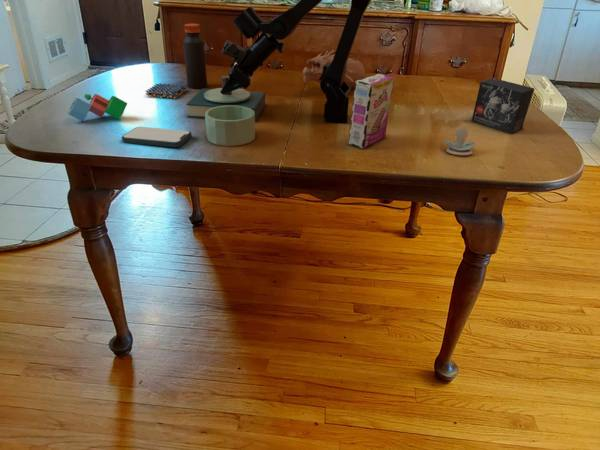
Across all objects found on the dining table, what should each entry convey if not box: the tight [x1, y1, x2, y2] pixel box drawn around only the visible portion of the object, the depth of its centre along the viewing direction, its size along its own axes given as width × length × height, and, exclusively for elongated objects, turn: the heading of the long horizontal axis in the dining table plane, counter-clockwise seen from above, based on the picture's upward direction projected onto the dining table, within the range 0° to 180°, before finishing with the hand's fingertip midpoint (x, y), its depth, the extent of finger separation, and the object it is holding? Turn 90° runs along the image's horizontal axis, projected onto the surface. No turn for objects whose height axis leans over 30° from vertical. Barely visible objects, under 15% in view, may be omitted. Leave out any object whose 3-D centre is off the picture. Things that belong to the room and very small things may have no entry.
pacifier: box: [444, 126, 475, 157], centre depth 114 cm, size 7×6×6 cm
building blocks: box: [67, 93, 128, 122], centre depth 127 cm, size 8×8×12 cm
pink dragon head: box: [302, 49, 366, 88], centre depth 155 cm, size 13×15×25 cm
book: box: [185, 88, 266, 123], centre depth 137 cm, size 20×16×4 cm
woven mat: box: [145, 82, 187, 100], centre depth 151 cm, size 10×11×2 cm
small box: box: [471, 77, 535, 134], centre depth 131 cm, size 13×7×12 cm, turn 40°
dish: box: [204, 105, 256, 147], centre depth 119 cm, size 13×13×6 cm
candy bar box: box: [348, 73, 395, 150], centre depth 116 cm, size 11×5×16 cm, turn 141°
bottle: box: [182, 23, 208, 90], centre depth 155 cm, size 7×7×20 cm
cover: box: [204, 75, 251, 103], centre depth 134 cm, size 14×14×6 cm
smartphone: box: [121, 126, 193, 148], centre depth 117 cm, size 9×2×16 cm
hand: (222, 90), depth 135 cm, fingers open, 5 cm apart
